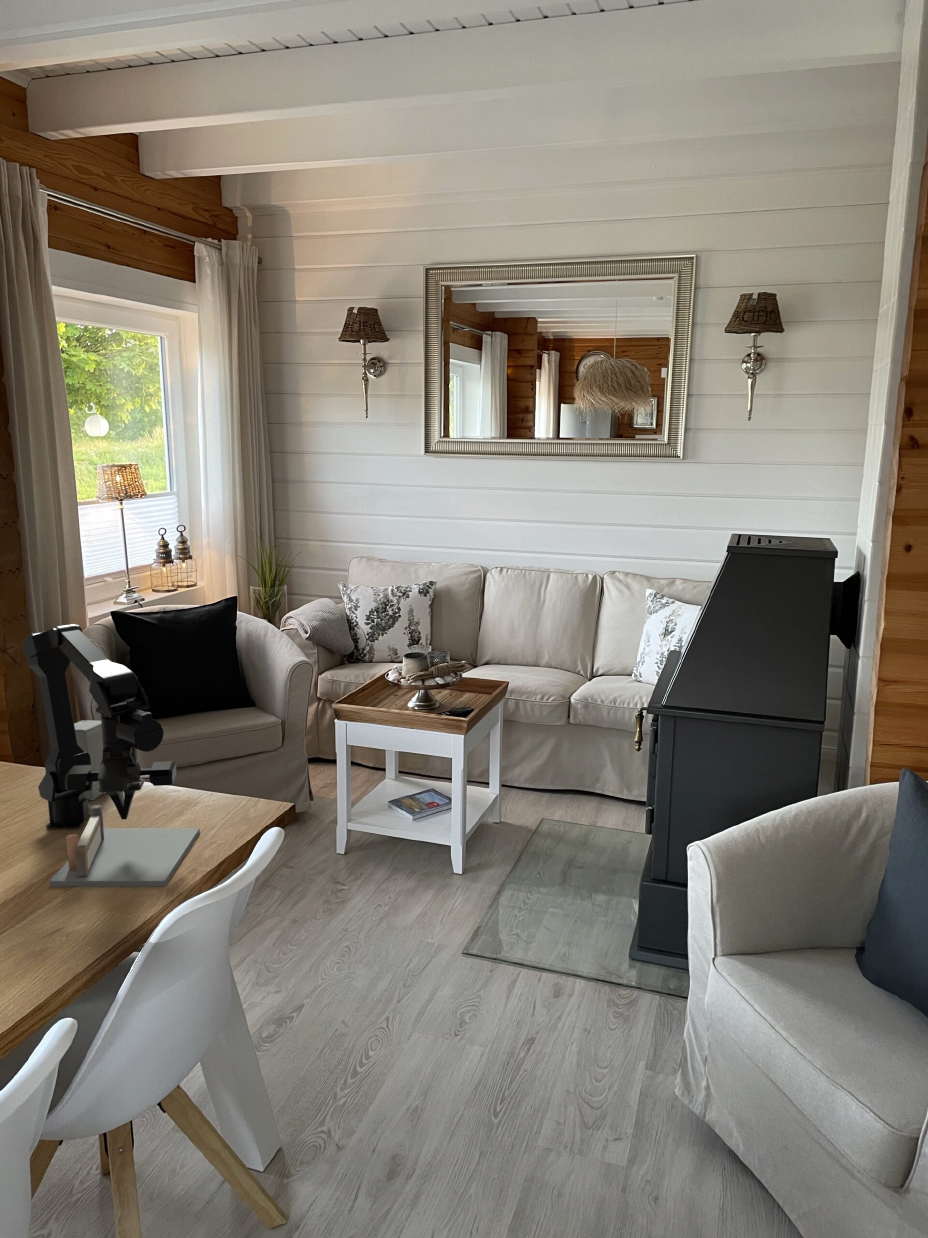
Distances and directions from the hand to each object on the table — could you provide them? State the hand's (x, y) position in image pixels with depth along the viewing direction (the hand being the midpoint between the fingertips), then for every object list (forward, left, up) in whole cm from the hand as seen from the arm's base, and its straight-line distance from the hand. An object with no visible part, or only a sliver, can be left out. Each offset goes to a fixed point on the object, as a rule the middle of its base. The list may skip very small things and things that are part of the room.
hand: (124, 818), depth 169 cm
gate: (-5, -4, -6) cm, 9 cm away
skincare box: (-19, +30, -7) cm, 36 cm away
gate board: (+1, -2, -7) cm, 7 cm away
